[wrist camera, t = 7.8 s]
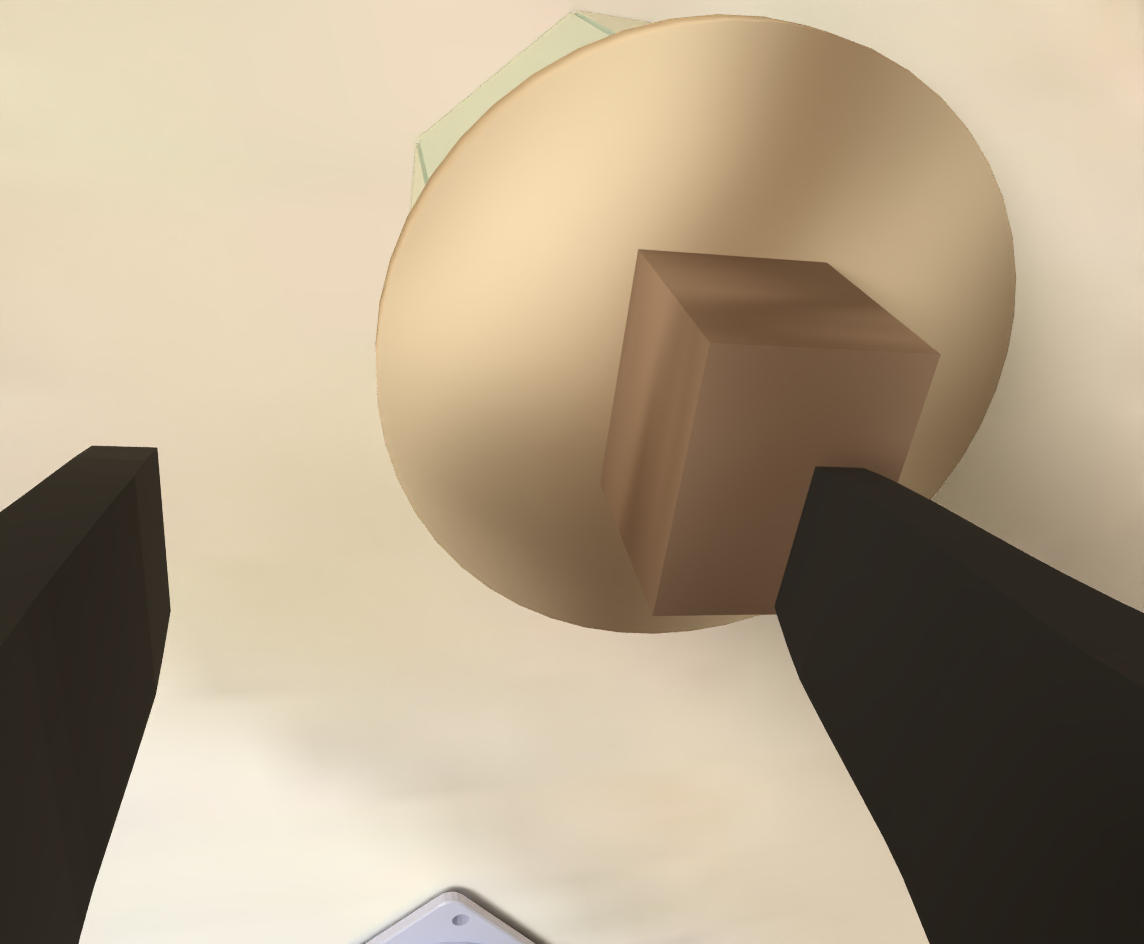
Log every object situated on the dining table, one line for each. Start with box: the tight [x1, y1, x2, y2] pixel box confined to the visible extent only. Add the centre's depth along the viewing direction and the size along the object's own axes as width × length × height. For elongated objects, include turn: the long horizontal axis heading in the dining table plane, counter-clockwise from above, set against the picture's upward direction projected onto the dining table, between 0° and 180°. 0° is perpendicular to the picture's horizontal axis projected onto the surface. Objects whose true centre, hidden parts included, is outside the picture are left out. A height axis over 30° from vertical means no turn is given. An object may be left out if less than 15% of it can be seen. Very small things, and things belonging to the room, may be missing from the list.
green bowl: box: [411, 11, 651, 210], centre depth 18 cm, size 9×9×5 cm
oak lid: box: [376, 14, 1016, 634], centre depth 15 cm, size 10×10×4 cm
